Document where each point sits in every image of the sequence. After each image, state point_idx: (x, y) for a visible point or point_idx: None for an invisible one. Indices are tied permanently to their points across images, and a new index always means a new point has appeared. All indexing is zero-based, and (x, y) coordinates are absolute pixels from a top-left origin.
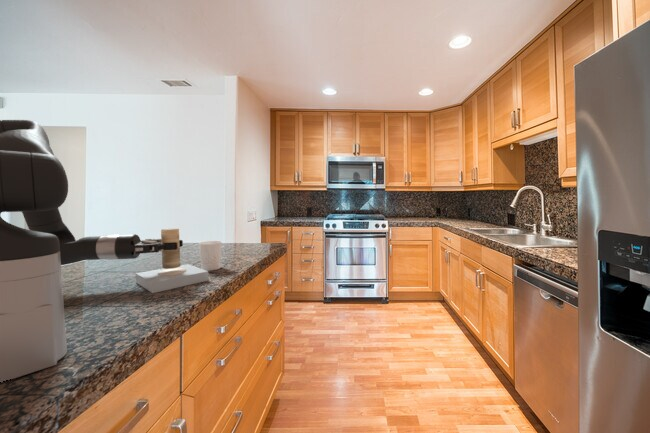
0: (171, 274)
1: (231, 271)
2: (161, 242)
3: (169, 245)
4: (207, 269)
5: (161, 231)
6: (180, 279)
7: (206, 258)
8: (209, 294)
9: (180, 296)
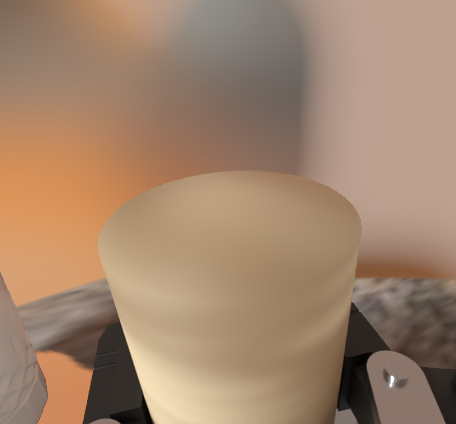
0: None
1: (114, 307)
2: (395, 362)
3: (353, 314)
4: (39, 412)
5: (344, 279)
6: None
7: (17, 370)
8: (388, 278)
9: (450, 344)
